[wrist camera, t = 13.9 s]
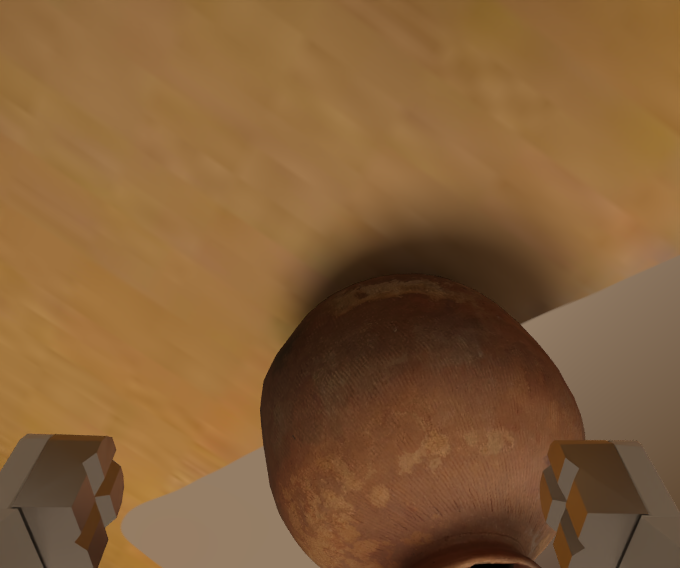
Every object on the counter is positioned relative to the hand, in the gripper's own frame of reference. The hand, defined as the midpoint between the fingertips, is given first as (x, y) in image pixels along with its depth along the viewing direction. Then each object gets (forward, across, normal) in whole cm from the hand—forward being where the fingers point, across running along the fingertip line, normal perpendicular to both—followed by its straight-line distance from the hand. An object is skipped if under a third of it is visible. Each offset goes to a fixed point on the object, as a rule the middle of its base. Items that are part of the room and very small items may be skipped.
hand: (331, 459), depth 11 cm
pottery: (+36, -6, +25) cm, 44 cm away
